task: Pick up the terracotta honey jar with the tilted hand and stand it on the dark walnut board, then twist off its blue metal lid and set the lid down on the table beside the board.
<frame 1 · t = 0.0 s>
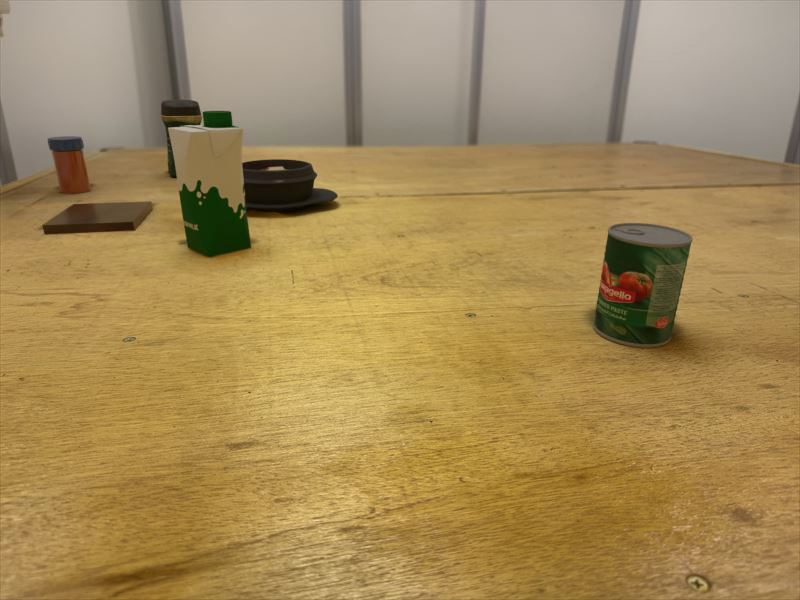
milk carton: (219, 249, 86), on the table
casserole: (276, 207, 112), on the table
lid: (65, 139, 119), point 11 cm above the table, screwed on, not yet turned
canned tomato: (630, 332, 60), on the table
board: (103, 220, 100), on the table
coffee jar: (189, 176, 143), on the table
honey jar: (76, 190, 124), on the table
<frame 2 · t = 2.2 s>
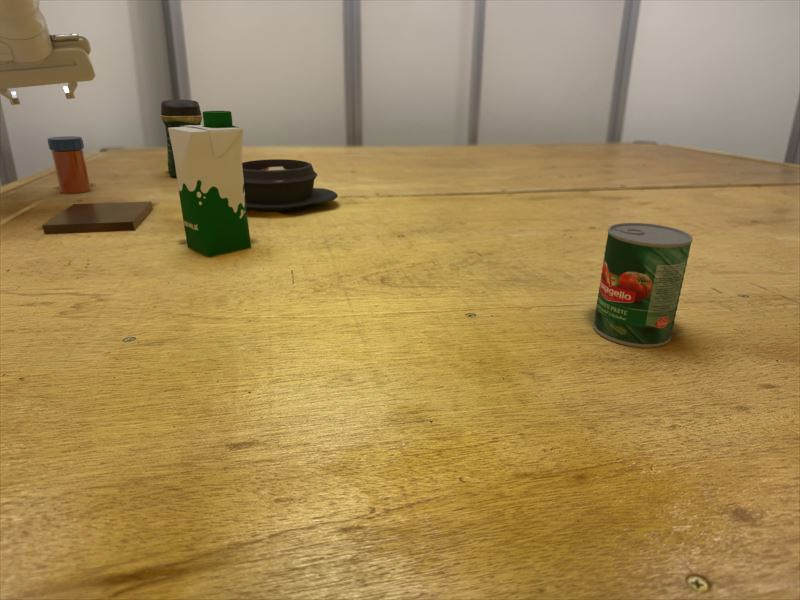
hand: (43, 99, 108), 20 cm above the table, tool tilted 40°, fingers open, 8 cm apart
nothing on the table moved.
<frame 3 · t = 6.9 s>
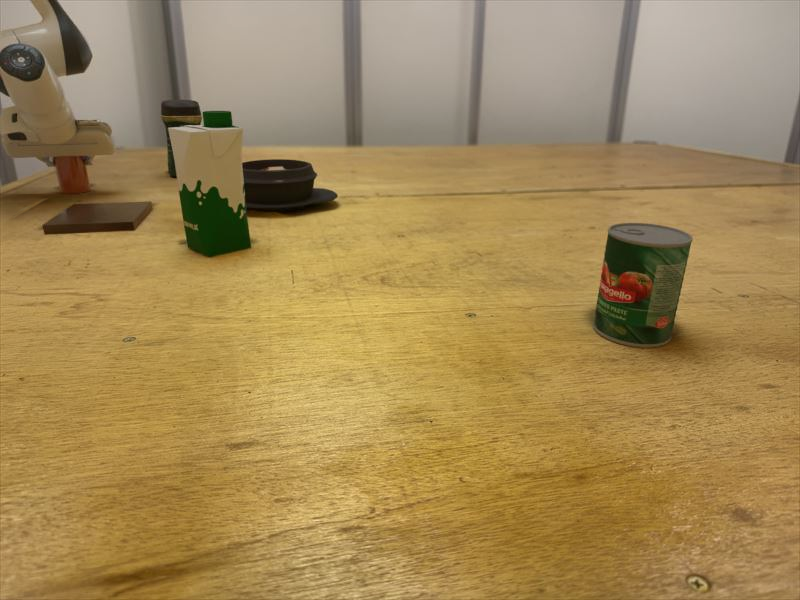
hand: (70, 163, 122), 6 cm above the table, tool tilted 45°, fingers closed on honey jar, 6 cm apart
honey jar: (76, 190, 124), on the table, touching gripper
everything else where it was.
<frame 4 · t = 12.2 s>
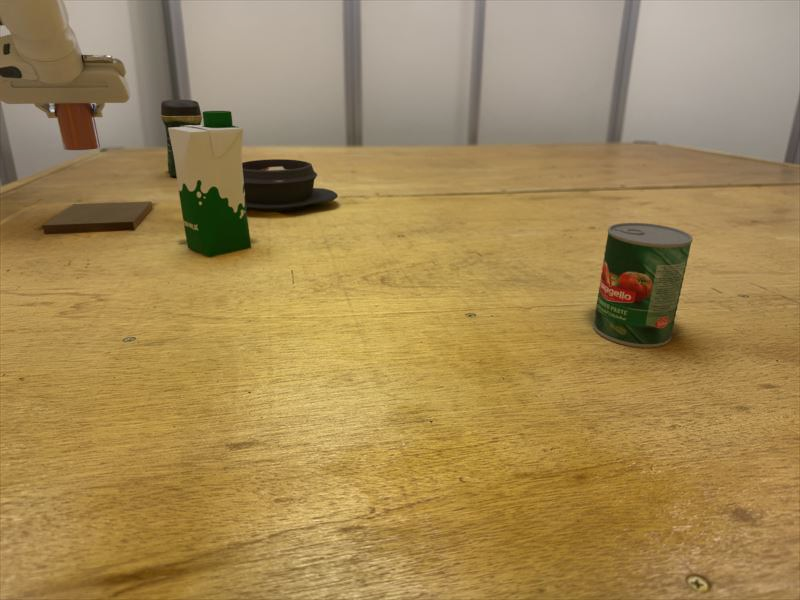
hand: (75, 114, 101), 18 cm above the table, tool tilted 45°, fingers closed on honey jar, 6 cm apart
lid: (69, 84, 99), point 23 cm above the table, screwed on, not yet turned
honey jar: (82, 148, 103), point 12 cm above the table, touching gripper
everything else where it was.
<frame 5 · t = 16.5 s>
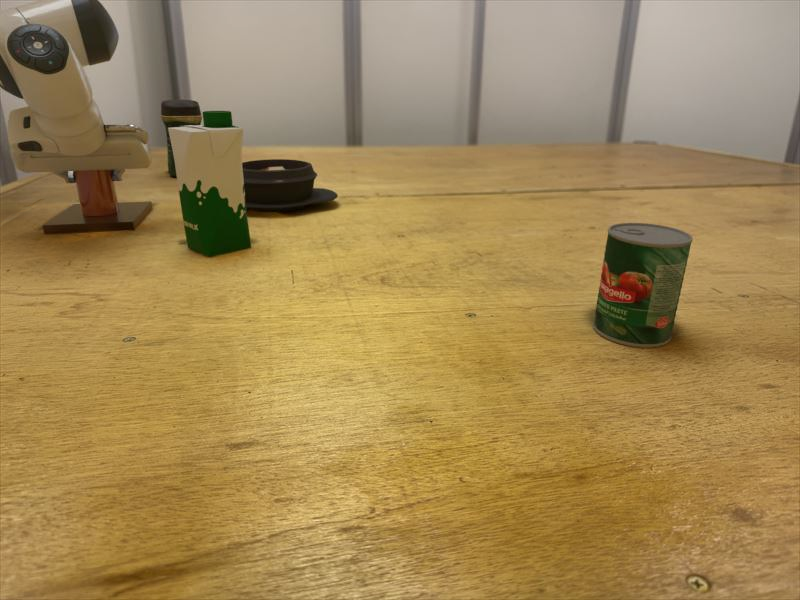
hand: (94, 179, 98), 7 cm above the table, tool tilted 45°, fingers closed on honey jar, 6 cm apart
lid: (88, 149, 95), point 13 cm above the table, screwed on, not yet turned
honey jar: (101, 212, 99), point 2 cm above the table, touching board, gripper
everything else where it was.
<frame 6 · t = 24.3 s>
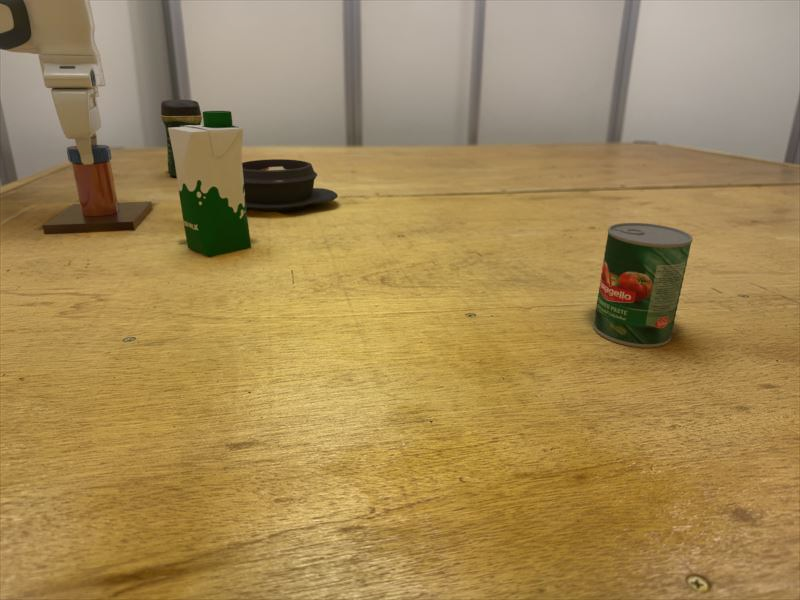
hand: (91, 160, 96), 11 cm above the table, tool pointing down, fingers closed on lid, 6 cm apart
lid: (88, 149, 95), point 13 cm above the table, screwed on, not yet turned, touching gripper
honey jar: (101, 212, 99), point 2 cm above the table, touching board
everything else where it was.
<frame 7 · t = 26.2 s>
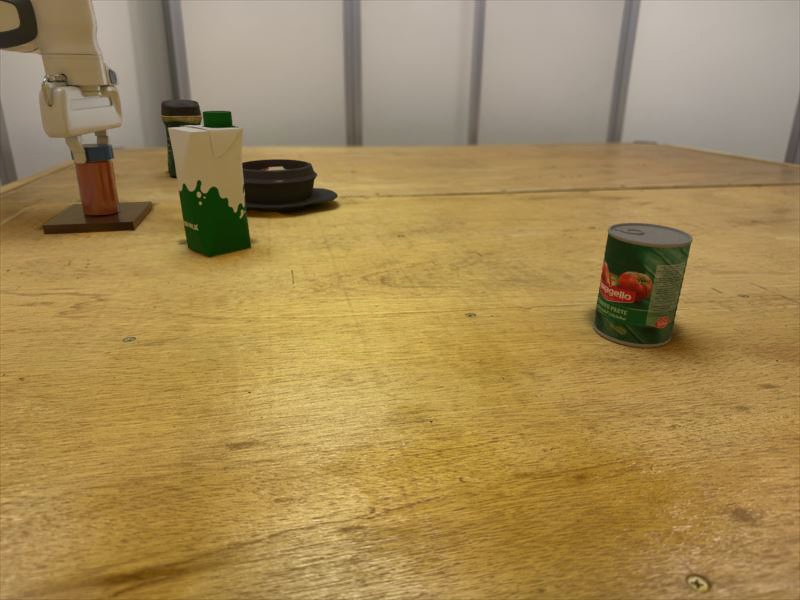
hand: (93, 159, 96), 11 cm above the table, tool pointing down, fingers closed on lid, 6 cm apart
lid: (91, 147, 96), point 13 cm above the table, off its thread, touching gripper
everything else where it was.
when the fingers open (0 cm above the table, at t = 36.0 s): lid stays where it is, point 2 cm above the table.
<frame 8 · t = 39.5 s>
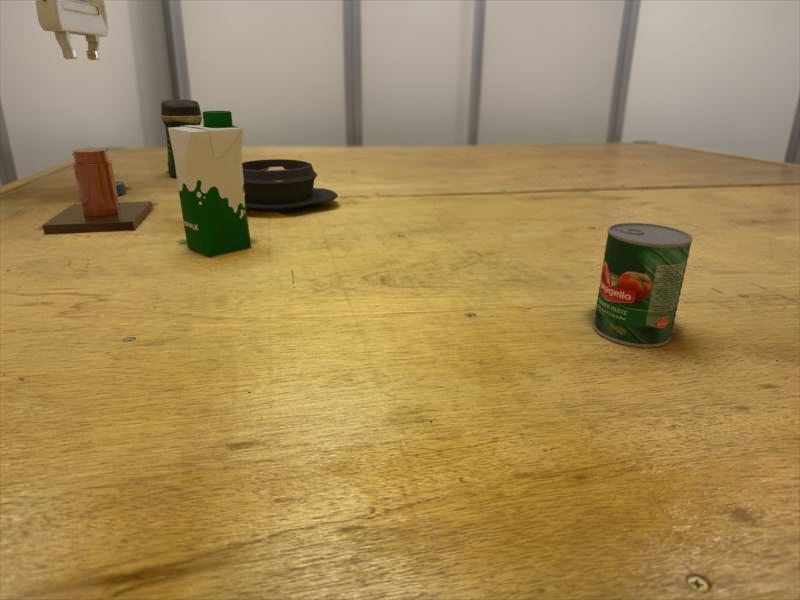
hand: (82, 59, 110), 27 cm above the table, tool pointing down, fingers open, 8 cm apart
lid: (107, 185, 120), point 2 cm above the table, off its thread
everything else where it was.
at the end: honey jar inside the target area on the board (0.1 cm from its centre), point 1.5 cm above the board's base; lid point 1.9 cm above the table; the gripper is holding nothing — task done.
